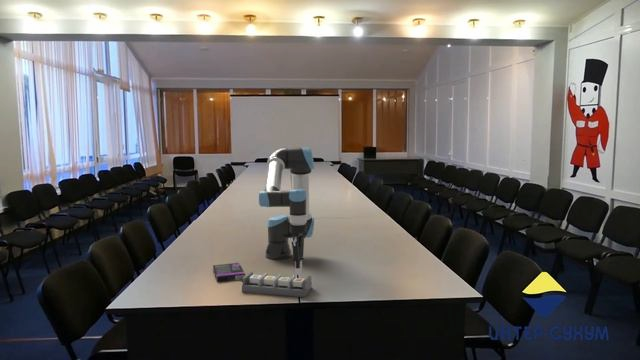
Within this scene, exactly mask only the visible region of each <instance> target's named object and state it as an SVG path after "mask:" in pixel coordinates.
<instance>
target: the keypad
mask: <svg viewBox="0 0 640 360" xmlns="http://www.w3.org/2000/svg"><path fill="white" fill-rule="evenodd" d="M252 275H254V271H252V270H251V271H249V272H248V273H247V274H245V277H243V279H242V285H241V292H243V293H253V294H263V295H264V294H266V295H273V296H287V297H297V298H306V296H307V295H308V294H309V292H310V291H311V289H312V287H313V286H312V285H313V284H312V283H313V282H312V276H311V275H308V276H307V277H306V278H305V281H304V282H303V287H293V280H294V279H295V278H296V275H295V274H293V275H292V277H290V280H289V281H288V286H280V285H278V280H279V279H280V278H281V277H282V274H281V273H279V274H278V275H277V276H276V278H275V279H274V280H273V285H269V284H264V278H265V277H266V276H268V272H265V273H263V275H262V277H260V278H259V279H258V284H257V283H250V280H249V278H250V277H251V276H252Z"/></svg>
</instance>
